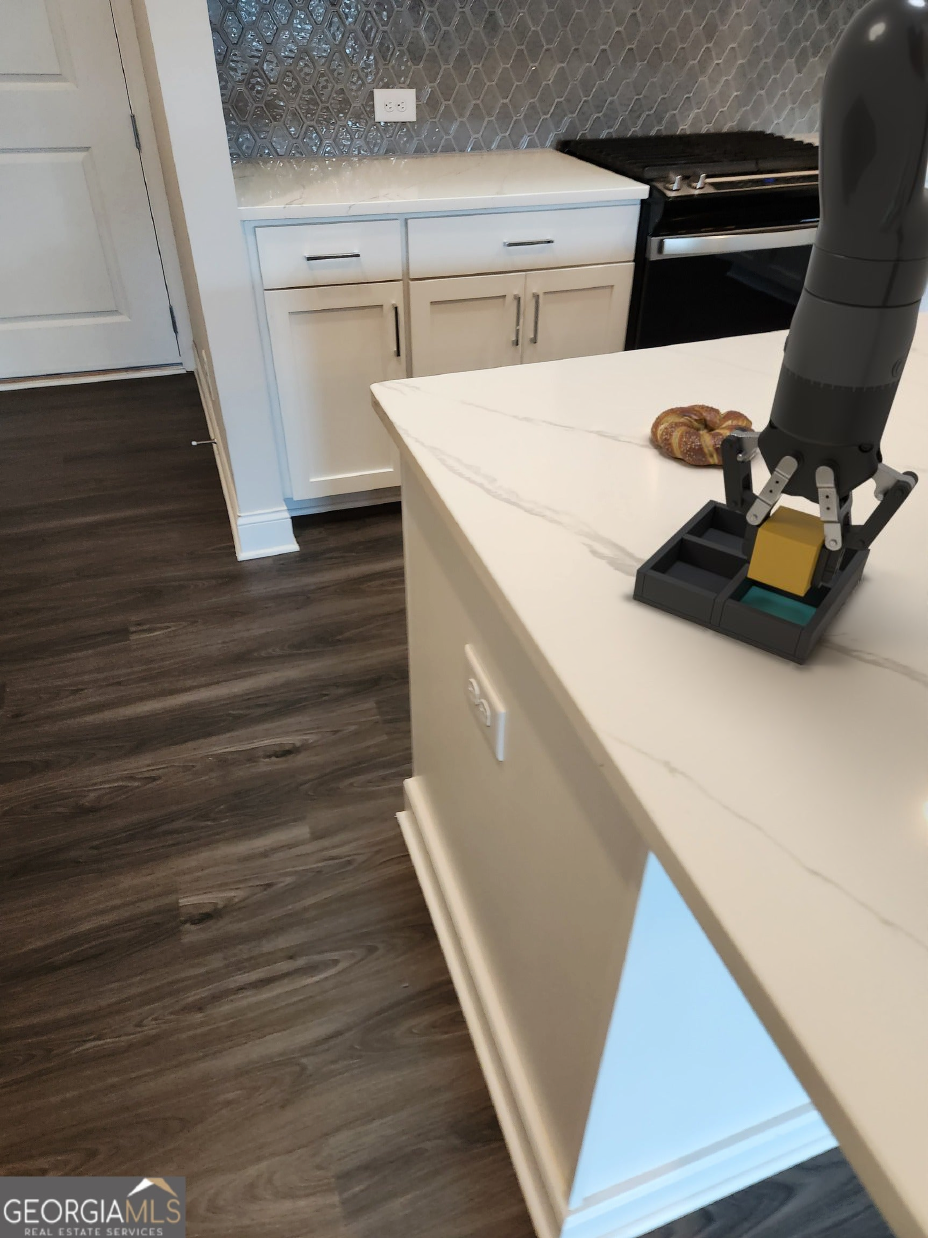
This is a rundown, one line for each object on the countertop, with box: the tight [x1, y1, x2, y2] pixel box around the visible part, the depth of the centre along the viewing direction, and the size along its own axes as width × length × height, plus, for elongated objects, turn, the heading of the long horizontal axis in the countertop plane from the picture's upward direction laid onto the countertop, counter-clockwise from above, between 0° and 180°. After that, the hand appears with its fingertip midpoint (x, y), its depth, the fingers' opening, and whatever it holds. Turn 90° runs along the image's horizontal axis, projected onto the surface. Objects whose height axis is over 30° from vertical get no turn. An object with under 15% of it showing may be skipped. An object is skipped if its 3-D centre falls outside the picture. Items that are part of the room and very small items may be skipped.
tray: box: [632, 499, 871, 666], centre depth 71 cm, size 15×15×3 cm
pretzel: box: [650, 404, 758, 466], centre depth 93 cm, size 12×11×4 cm
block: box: [747, 504, 825, 596], centre depth 64 cm, size 4×4×4 cm
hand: (785, 570), depth 66 cm, fingers closed on block, 4 cm apart
